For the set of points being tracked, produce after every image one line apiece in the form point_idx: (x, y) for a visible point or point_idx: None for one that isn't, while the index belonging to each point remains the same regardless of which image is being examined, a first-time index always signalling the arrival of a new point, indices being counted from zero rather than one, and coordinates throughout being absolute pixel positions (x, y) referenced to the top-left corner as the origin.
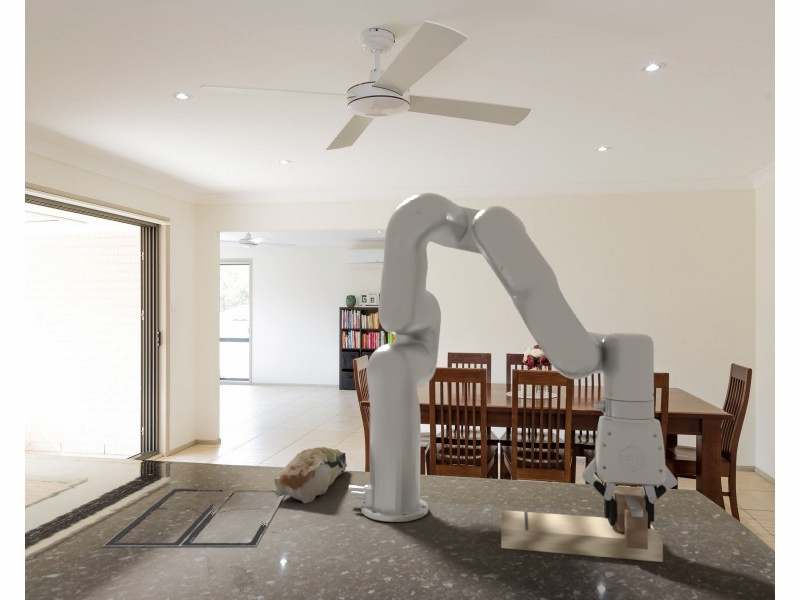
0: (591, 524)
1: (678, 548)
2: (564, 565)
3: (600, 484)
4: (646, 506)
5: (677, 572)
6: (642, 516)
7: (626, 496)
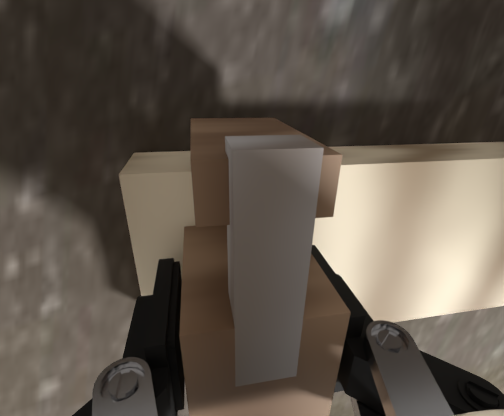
0: (355, 270)
1: (72, 275)
2: (458, 47)
3: (473, 408)
4: (170, 332)
5: (87, 67)
6: (229, 138)
7: (284, 372)
